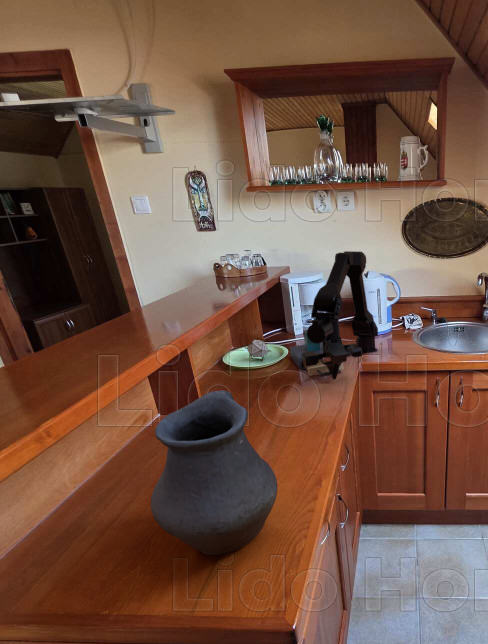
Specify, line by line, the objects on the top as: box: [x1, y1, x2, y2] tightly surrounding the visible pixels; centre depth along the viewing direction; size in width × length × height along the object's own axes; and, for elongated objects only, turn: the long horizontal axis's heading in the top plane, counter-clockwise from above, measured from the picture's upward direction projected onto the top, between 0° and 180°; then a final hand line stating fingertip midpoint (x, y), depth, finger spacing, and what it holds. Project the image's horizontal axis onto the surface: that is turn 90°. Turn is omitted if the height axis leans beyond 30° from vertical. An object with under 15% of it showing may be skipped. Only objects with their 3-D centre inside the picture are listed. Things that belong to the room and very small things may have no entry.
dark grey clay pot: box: [150, 389, 279, 556], centre depth 72 cm, size 21×22×25 cm
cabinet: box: [289, 342, 323, 370], centre depth 156 cm, size 14×14×4 cm
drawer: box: [302, 360, 345, 378], centre depth 146 cm, size 17×12×3 cm
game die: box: [244, 337, 272, 362], centre depth 158 cm, size 9×8×10 cm
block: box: [302, 329, 320, 352], centre depth 154 cm, size 4×4×7 cm
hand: (334, 379), depth 137 cm, fingers closed
